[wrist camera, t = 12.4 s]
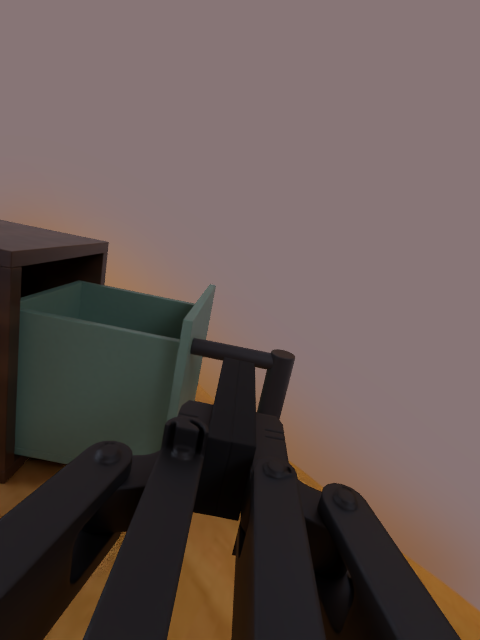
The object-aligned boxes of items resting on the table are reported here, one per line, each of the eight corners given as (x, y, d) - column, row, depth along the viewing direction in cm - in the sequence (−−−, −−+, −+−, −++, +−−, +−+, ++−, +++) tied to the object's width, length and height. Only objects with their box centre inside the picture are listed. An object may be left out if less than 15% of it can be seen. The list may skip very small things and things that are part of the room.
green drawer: (256, 416, 37) (284, 299, 34) (259, 518, 24) (304, 343, 21) (75, 380, 37) (86, 259, 34) (-21, 464, 24) (-20, 278, 21)
